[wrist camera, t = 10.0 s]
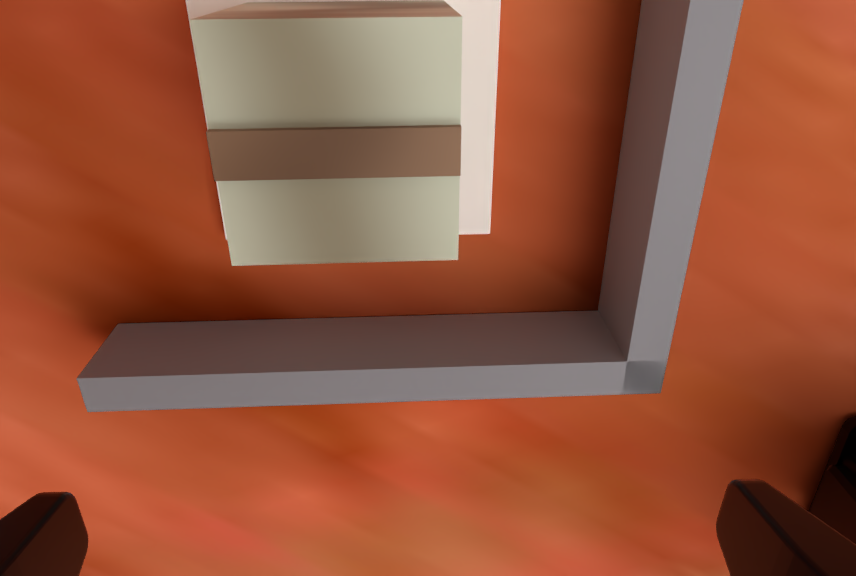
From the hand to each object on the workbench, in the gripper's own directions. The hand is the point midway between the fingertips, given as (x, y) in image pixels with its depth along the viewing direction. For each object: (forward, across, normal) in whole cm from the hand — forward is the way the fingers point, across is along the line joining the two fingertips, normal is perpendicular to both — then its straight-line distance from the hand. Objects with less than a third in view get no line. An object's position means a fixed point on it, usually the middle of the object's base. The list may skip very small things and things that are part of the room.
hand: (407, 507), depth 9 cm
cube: (+11, +1, -3) cm, 12 cm away
